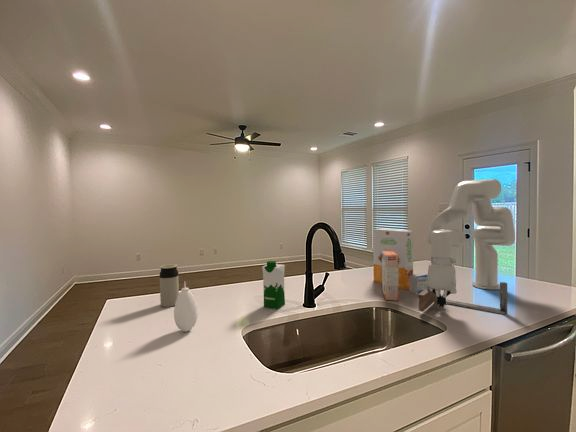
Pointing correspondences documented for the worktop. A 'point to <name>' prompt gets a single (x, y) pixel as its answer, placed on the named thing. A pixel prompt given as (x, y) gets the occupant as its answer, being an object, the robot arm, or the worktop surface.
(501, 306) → the gate frame
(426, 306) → the gate
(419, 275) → the medicine box
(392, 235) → the cereal box
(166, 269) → the travel mug
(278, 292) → the milk carton
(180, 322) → the white air blower bulb
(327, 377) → the worktop surface
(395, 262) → the cracker box
